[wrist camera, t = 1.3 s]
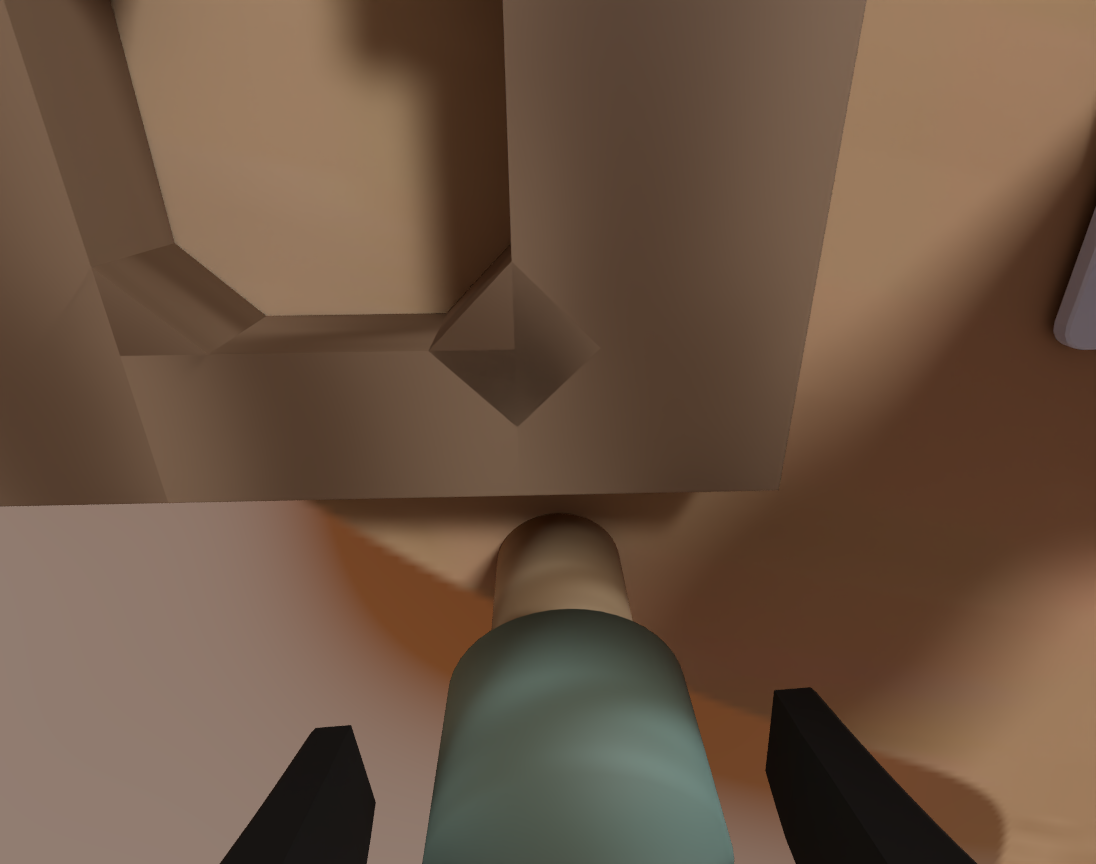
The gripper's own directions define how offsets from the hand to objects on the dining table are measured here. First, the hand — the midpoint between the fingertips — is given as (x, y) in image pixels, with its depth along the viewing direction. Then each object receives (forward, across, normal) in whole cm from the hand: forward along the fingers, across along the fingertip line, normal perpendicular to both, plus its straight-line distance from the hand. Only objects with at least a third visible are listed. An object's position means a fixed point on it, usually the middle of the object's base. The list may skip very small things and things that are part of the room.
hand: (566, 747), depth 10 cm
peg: (+5, 0, 0) cm, 5 cm away
